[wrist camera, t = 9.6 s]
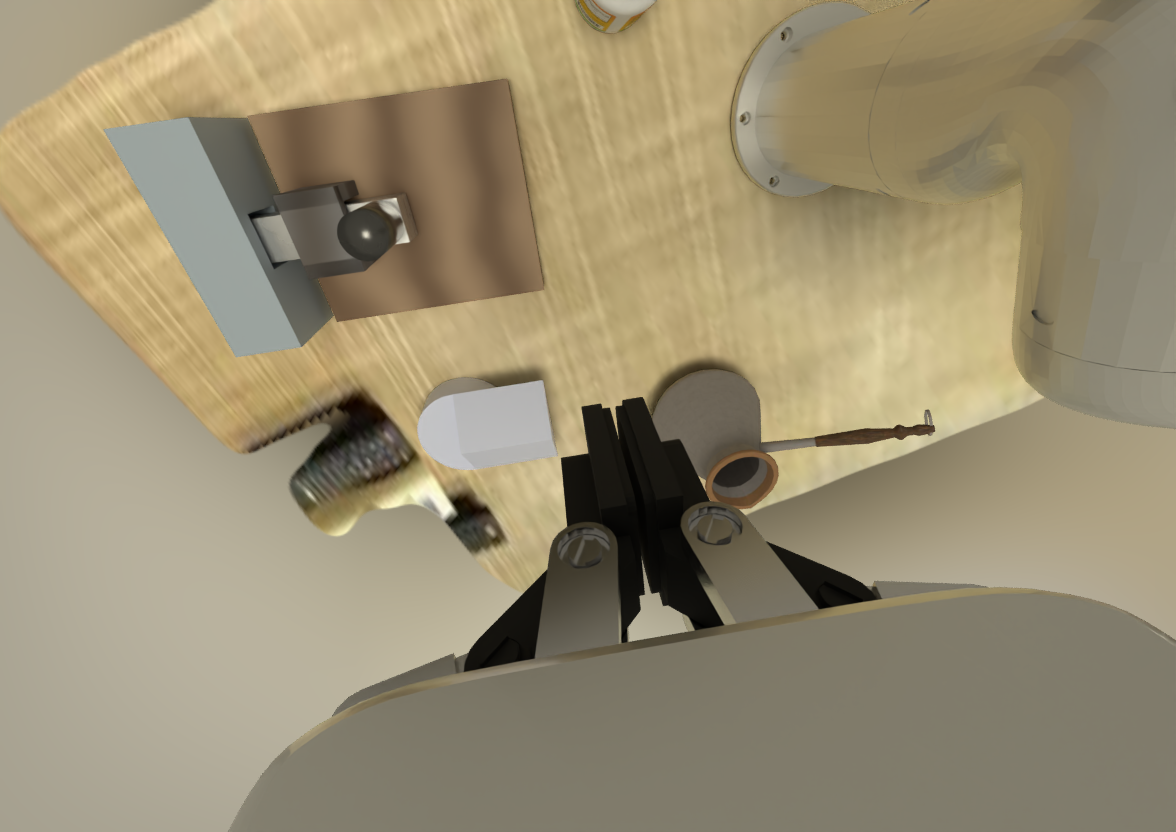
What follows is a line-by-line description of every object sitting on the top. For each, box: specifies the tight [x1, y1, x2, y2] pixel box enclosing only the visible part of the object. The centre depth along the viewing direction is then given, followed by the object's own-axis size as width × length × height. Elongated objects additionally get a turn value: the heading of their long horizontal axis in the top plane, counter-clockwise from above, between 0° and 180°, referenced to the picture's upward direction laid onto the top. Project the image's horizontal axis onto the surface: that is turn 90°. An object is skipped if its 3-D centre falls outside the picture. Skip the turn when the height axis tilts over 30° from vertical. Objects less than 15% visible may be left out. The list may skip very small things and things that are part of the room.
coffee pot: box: [652, 369, 935, 509], centre depth 44 cm, size 21×12×15 cm, turn 113°
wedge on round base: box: [417, 377, 558, 470], centre depth 46 cm, size 9×7×13 cm
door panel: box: [248, 79, 544, 322], centre depth 35 cm, size 18×15×6 cm
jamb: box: [103, 117, 334, 357], centre depth 35 cm, size 5×15×7 cm, turn 7°
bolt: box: [249, 193, 418, 263], centre depth 33 cm, size 12×3×8 cm, turn 97°
